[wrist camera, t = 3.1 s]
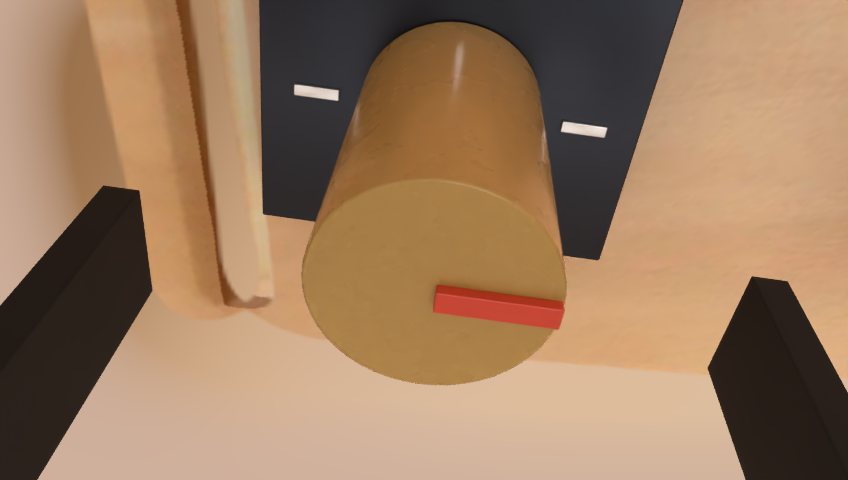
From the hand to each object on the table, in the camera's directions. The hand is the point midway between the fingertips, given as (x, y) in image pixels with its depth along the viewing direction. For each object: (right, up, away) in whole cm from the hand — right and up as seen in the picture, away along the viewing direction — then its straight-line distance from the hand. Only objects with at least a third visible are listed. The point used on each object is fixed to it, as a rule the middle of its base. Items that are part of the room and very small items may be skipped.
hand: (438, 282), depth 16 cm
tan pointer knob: (+1, +5, +7) cm, 8 cm away
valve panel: (+1, +7, +9) cm, 11 cm away
